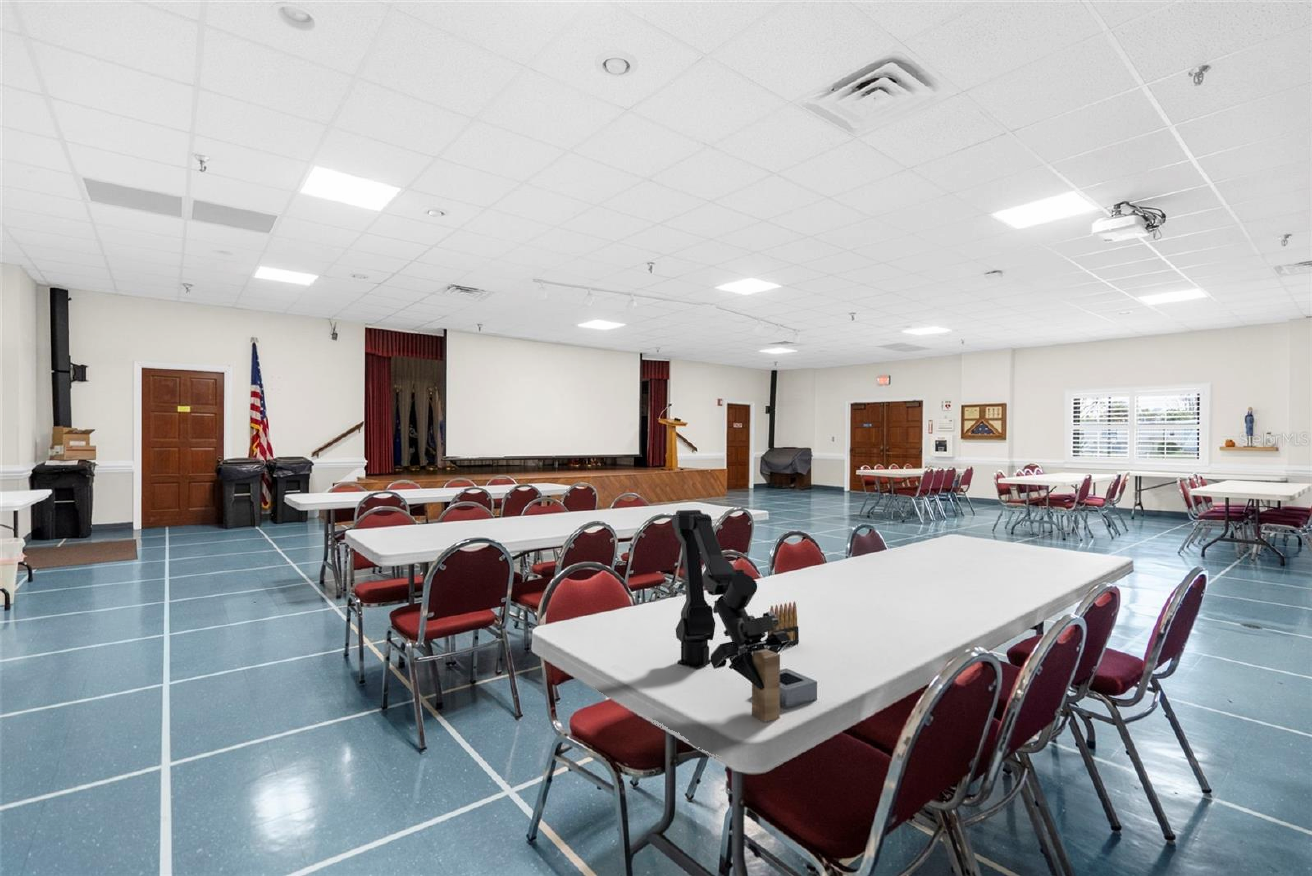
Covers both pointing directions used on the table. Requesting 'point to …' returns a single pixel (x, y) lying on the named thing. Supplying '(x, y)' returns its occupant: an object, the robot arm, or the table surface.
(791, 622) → the ammunition clip
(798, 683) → the square collar
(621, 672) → the table surface
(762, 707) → the walnut peg
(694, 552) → the robot arm
